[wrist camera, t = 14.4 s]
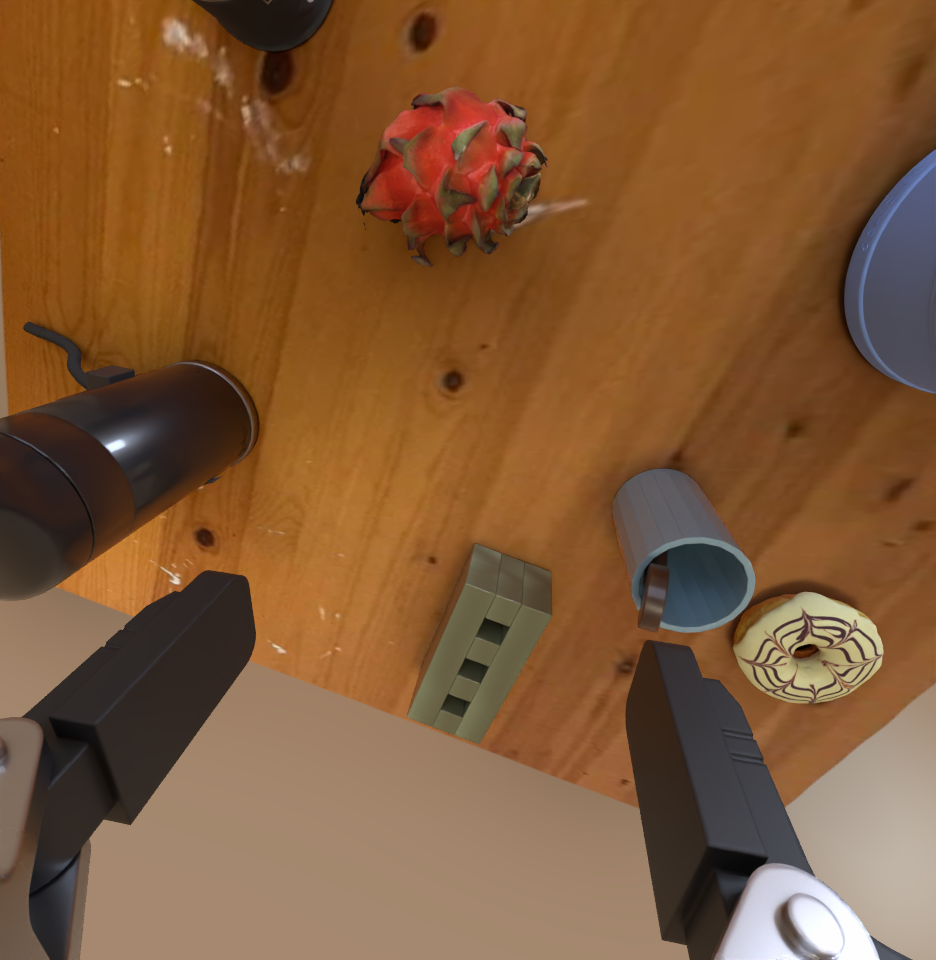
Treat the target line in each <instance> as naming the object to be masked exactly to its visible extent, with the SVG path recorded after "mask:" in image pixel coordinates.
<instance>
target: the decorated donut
mask: <svg viewBox="0 0 936 960" xmlns="http://www.w3.org/2000/svg"><path fill="white" fill-rule="evenodd" d="M733 638H734V646H733V650H734V653H735V656H736V658H737V661H738V664H739V666H740V668H741V669H742V671H743V672H744V673H745V675H746V677H747V678H748V679H749V680H750V682H751V683H752V684H753V685H754V686H756V687H757V688H758V689H759V690H761V691H762V692H764V693H766V694H768V695H770V696H772V697H774V698H778V699H781V700H784V701H786V702H791V703H818V702H824V701H830V700H833V699H836V698H839V697H842V696H845V695H847V694H849V693H851V692H852V691H853V690H855V689H856V688H858V687H859V686H860V685H861V684H863V683H864V682H865V681H867V680H868V679H869V678H870V677H871V676H873V675H874V673H875V672H876V671H877V670H878V669H879V668H880V666H881V663H882V656H883V645H882V642H881V638H880V637H879V635H878V634H877V628H876V626H875V625H874V624H873V623H872V622H871V620H870V619H869V618H868V617H867V616H866V615H864V614H863V613H862V612H860V611H858V610H856V609H855V608H853V607H851V606H850V605H848V604H845V603H843V602H841V601H837V600H834V599H831V598H827V597H825V596H823V595H820V594H817V593H813V592H801V593H799V594H786V595H785V594H784V595H781V596H778V597H772V598H769V599H767V600H765V601H763V602H762V603H759V604H756V605H754V606H752V607H750V608H749V610H747V611H745V612H744V613H743V614H742V616H741V620H740V622H739V623H738V626H737V628H736V631H735V634H734V637H733ZM806 644H814V645H812V646H809V647H808V648H805V649H801V650H795V649H796V648H797V647H800V646H803V645H806Z"/></svg>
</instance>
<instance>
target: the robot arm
mask: <svg viewBox="0 0 936 960" xmlns="http://www.w3.org/2000/svg"><path fill="white" fill-rule="evenodd" d="M23 329H24V330H25V331H26V332H28V333H30V334H32V335H35V336H37V337H39V338H42V339H44V340H47V341H49V342H52V343H54V344H56V345H58V346H60V347H61V348H63V349H64V350H65V351H66V352H67V353H68V360H67V367H68V370H69V372H70V373H71V375H72V376H73V377H74V379H75V380H76V381H77V382H78V383H79V384H80V385H81V386H83V387H84V388H85V389H86V390H87V391H84V392H81V393H77V394H74V395H71V396H68V397H64V398H61V399H59V400H57V401H55V402H52V403H48V404H45V405H42V406H39V407H36V408H32V409H29V410H26V411H23V412H19V413H17V414H14V415H10V416H7V417H4V418H1V419H0V601H18V600H25V599H29V598H32V597H35V596H38V595H40V594H42V593H45V592H46V591H48V590H50V589H51V588H53V587H55V586H56V585H58V584H59V583H61V582H62V581H64V580H65V579H67V578H68V577H70V576H71V575H72V574H74V573H75V572H77V571H78V570H79V569H81V568H82V567H84V566H85V565H87V564H88V563H89V562H91V561H92V560H94V559H95V558H97V557H98V556H100V555H101V554H103V553H104V552H106V551H107V550H108V549H110V548H111V547H113V546H114V545H116V544H117V543H119V542H120V541H122V540H123V539H124V538H126V537H127V536H129V535H130V534H132V533H133V532H134V531H136V530H137V529H139V528H140V527H142V526H143V525H145V524H146V523H148V522H149V521H151V520H152V519H154V518H155V517H156V516H158V515H159V514H161V513H162V512H164V511H165V510H167V509H168V508H170V507H171V506H173V505H174V504H176V503H177V502H178V501H180V500H181V499H183V498H184V497H186V496H187V495H189V494H190V493H192V492H193V491H195V490H196V489H198V488H199V487H200V486H202V485H205V484H209V483H212V482H215V481H216V480H218V479H219V478H220V477H217V478H214V477H215V476H217V475H218V474H220V473H221V472H223V471H224V470H226V469H227V468H228V467H230V466H233V465H235V464H236V463H238V462H239V461H241V460H242V459H244V458H245V457H246V456H247V455H248V454H249V453H250V452H251V450H252V449H253V447H254V445H255V443H256V440H257V435H258V419H257V414H256V411H255V408H254V405H253V403H252V401H251V399H250V397H249V395H248V394H247V392H246V391H245V389H244V388H243V387H242V386H241V384H240V383H239V382H238V381H237V380H236V379H235V378H234V377H232V376H231V375H230V374H229V373H227V372H226V371H224V370H223V369H221V368H219V367H217V366H215V365H213V364H210V363H207V362H203V361H198V360H186V361H181V362H178V363H174V364H171V365H169V366H166V367H165V368H163V369H160V370H153V371H149V372H146V373H143V374H139V375H136V376H135V371H134V370H132V369H128V368H123V367H118V366H113V365H111V366H107V367H104V368H100V369H96V370H92V371H89V372H86V373H84V371H83V370H82V368H81V352H80V350H79V349H78V348H77V346H76V345H75V344H74V343H73V342H71V341H70V340H68V339H67V338H65V337H63V336H61V335H59V334H57V333H55V332H52V331H50V330H47V329H45V328H43V327H40V326H38V325H36V324H34V323H32V322H27V323H25V325H24V327H23ZM221 477H222V476H221ZM212 478H213V479H212ZM255 639H256V630H255V623H254V616H253V609H252V602H251V595H250V588H249V582H248V580H247V578H246V577H245V576H242V575H236V574H230V573H223V572H217V571H211V570H207V571H204V572H202V573H201V574H199V575H198V576H197V577H196V578H195V579H194V580H193V581H192V582H191V583H190V584H189V585H188V586H187V587H185V588H184V589H183V590H182V591H181V592H177V591H174V592H172V593H170V594H168V595H167V596H165V597H163V598H161V599H159V600H157V601H155V602H153V603H152V604H150V605H148V606H146V607H145V608H144V609H143V610H142V611H141V612H139V613H138V614H137V615H136V616H135V617H134V618H133V619H132V620H131V621H129V622H128V623H127V624H126V625H125V628H124V629H123V630H119V631H118V632H117V633H116V634H115V635H114V636H113V637H111V638H110V639H109V640H108V641H107V642H106V645H105V647H100V648H99V649H98V650H97V651H96V652H95V653H94V654H92V655H91V656H90V657H89V658H88V659H87V660H86V661H85V662H83V663H82V664H81V665H80V666H79V667H78V668H77V669H76V670H75V671H73V672H72V673H71V674H70V675H69V676H68V677H67V678H66V679H65V680H63V681H62V682H61V683H60V684H59V685H58V686H57V687H55V688H54V689H53V690H52V691H51V692H50V693H49V694H48V695H47V696H45V697H44V698H43V699H42V700H41V701H40V702H39V703H38V704H37V705H35V706H34V707H33V708H32V709H31V710H30V711H29V712H27V713H26V714H25V715H24V716H22V717H11V718H3V719H0V960H80V951H81V940H82V932H83V922H84V912H85V903H86V893H87V883H88V874H89V863H90V854H91V843H90V840H89V838H90V836H91V835H92V834H93V832H94V831H95V830H96V828H97V827H98V826H99V825H100V823H101V822H102V821H103V820H109V821H114V822H119V823H124V824H128V825H131V824H132V822H133V821H134V820H135V818H136V817H137V816H138V814H139V813H140V811H141V810H142V809H143V807H144V806H145V804H146V803H147V802H148V800H149V799H150V798H151V796H152V795H153V793H154V792H155V790H156V789H157V788H158V786H159V785H160V784H161V782H162V781H163V779H164V778H165V777H166V775H167V774H168V773H169V771H170V770H171V768H172V767H173V766H174V764H175V763H176V761H177V760H178V759H179V757H180V756H181V754H182V753H183V752H184V750H185V749H186V747H187V746H188V745H189V743H190V742H191V741H192V739H193V738H194V736H195V735H196V734H197V732H198V731H199V729H200V728H201V727H202V725H203V724H204V723H205V721H206V720H207V718H208V717H209V716H210V714H211V713H212V711H213V710H214V709H215V707H216V706H217V705H218V703H219V702H220V700H221V699H222V698H223V696H224V695H225V693H226V692H227V691H228V689H229V688H230V686H231V685H232V684H233V682H234V681H235V680H236V678H237V677H238V675H239V674H240V673H241V671H242V670H243V669H244V667H245V666H246V664H247V663H248V661H249V659H250V657H251V655H252V652H253V649H254V645H255ZM626 731H627V738H628V743H629V749H630V755H631V761H632V767H633V773H634V779H635V785H636V791H637V796H638V802H639V808H640V814H641V820H642V826H643V832H644V838H645V844H646V849H647V855H648V861H649V867H650V872H651V879H652V885H653V891H654V896H655V902H656V908H657V914H658V920H659V926H660V932H661V938H662V940H664V941H669V942H675V943H679V944H684V945H687V948H688V953H689V958H690V960H912V959H910V958H907V957H906V956H904V955H902V954H900V953H898V952H896V951H894V950H892V949H891V948H889V947H887V946H886V945H884V944H882V943H881V942H879V941H877V940H876V939H875V938H873V937H872V936H870V935H869V934H868V932H867V930H866V929H865V927H864V925H863V924H862V923H861V921H860V920H859V918H858V917H857V915H856V914H855V913H854V912H853V911H852V910H851V908H850V907H849V906H848V905H847V904H846V902H845V901H844V900H843V899H842V898H841V897H840V896H839V895H838V894H837V893H836V892H834V891H833V890H832V889H831V888H830V887H828V886H827V885H826V884H825V883H823V882H822V881H820V880H819V879H817V878H816V877H815V875H814V873H813V871H812V869H811V867H810V865H809V864H808V861H807V859H806V856H805V854H804V852H803V849H802V847H801V845H800V842H799V840H798V838H797V836H796V833H795V831H794V829H793V826H792V824H791V821H790V819H789V817H788V815H787V812H786V810H785V808H784V805H783V803H782V801H781V798H780V796H779V794H778V791H777V789H776V787H775V784H774V782H773V780H772V777H771V775H770V773H769V770H768V768H767V766H766V765H764V764H763V756H762V754H761V752H760V749H759V747H758V745H757V742H756V740H753V733H752V731H751V728H750V726H749V724H748V722H747V719H746V717H745V715H744V712H743V710H742V708H741V706H740V704H739V703H738V702H737V701H736V700H735V699H734V697H733V696H732V695H731V694H730V693H729V692H728V690H727V689H726V688H725V687H724V686H723V685H722V684H721V682H720V681H719V680H714V679H708V678H702V675H701V672H700V670H699V667H698V664H697V661H696V659H695V656H694V653H693V651H692V650H691V648H690V647H688V646H684V645H678V644H671V643H665V642H658V641H652V640H647V641H646V642H645V643H644V645H643V648H642V651H641V654H640V658H639V661H638V664H637V668H636V671H635V674H634V678H633V681H632V684H631V687H630V691H629V694H628V698H627V704H626Z"/></svg>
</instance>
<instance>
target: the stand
mask: <svg viewBox="0 0 936 960" xmlns="http://www.w3.org/2000/svg"><path fill="white" fill-rule="evenodd" d="M551 617H552V589H551V572H550V571H547V570H544V569H542V568H539V567H536V566H534V565H531V564H528V563H526V562H525V563H524V562H523V561H520V560H518V559H515V558H512V557H510V556H507V555H505V554H501V553H499V552H497V551H494V550H491V549H489V548H486V547H484V546H481V545H478V544H474V546H473V549H472V551H471V553H470V556H469V558H468V560H467V563H466V565H465V567H464V569H463V572H462V574H461V576H460V579H459V581H458V583H457V586H456V588H455V590H454V593H453V595H452V597H451V600H450V602H449V604H448V607H447V609H446V611H445V614H444V616H443V618H442V621H441V623H440V625H439V628H438V630H437V632H436V635H435V637H434V639H433V641H432V644H431V646H430V648H429V651H428V653H427V655H426V658H425V660H424V662H423V665H422V667H421V669H420V673H419V676H418V680H417V683H416V686H415V690H414V693H413V696H412V700H411V703H410V707H409V710H408V713H407V718H410V719H413V720H416V721H418V722H421V723H424V724H426V725H429V726H432V727H434V728H437V729H439V730H442V731H445V732H447V733H450V734H453V735H456V736H458V737H461V738H464V739H466V740H469V741H472V742H475V743H477V744H480V743H481V741H482V739H483V737H484V735H485V734H486V732H487V730H488V728H489V727H490V725H491V723H492V721H493V720H494V718H495V716H496V714H497V712H498V711H499V709H500V707H501V705H502V704H503V702H504V700H505V698H506V697H507V695H508V693H509V691H510V689H511V688H512V686H513V684H514V682H515V681H516V679H517V677H518V675H519V674H520V672H521V670H522V668H523V667H524V665H525V663H526V661H527V659H528V658H529V656H530V654H531V652H532V651H533V649H534V647H535V645H536V644H537V642H538V640H539V638H540V636H541V635H542V633H543V631H544V629H545V628H546V626H547V624H548V622H549V621H550V619H551Z"/></svg>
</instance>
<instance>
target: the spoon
mask: <svg viewBox="0 0 936 960" xmlns="http://www.w3.org/2000/svg"><path fill="white" fill-rule="evenodd" d="M667 561H668V550H666V551H664V552H663V553H661V554H660V555H658V556H656V557H655V558H654V559H653V560H652V561H651V562H650V563H649V564H648V565H647V567H646V568H645V569H644V576H643V585H644V588H643V593H642V598H641V603H640V609H639V616H638V627H639V628H641V629H645V630H648V631H652V632H657V631H658V629H659V626H660V623H661V620H662V616H663V612H664V607H665V602H666V597H667V591H668V585H669V576H670V570H669V567H667Z"/></svg>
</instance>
